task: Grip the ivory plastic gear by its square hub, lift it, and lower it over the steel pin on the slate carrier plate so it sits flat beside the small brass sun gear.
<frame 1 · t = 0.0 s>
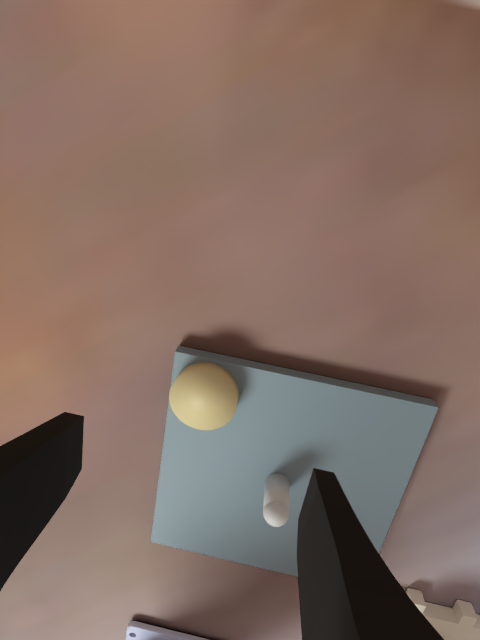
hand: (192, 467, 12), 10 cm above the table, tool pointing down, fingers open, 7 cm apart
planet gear: (417, 638, 28), on the table
carrier plate: (277, 473, 24), on the table
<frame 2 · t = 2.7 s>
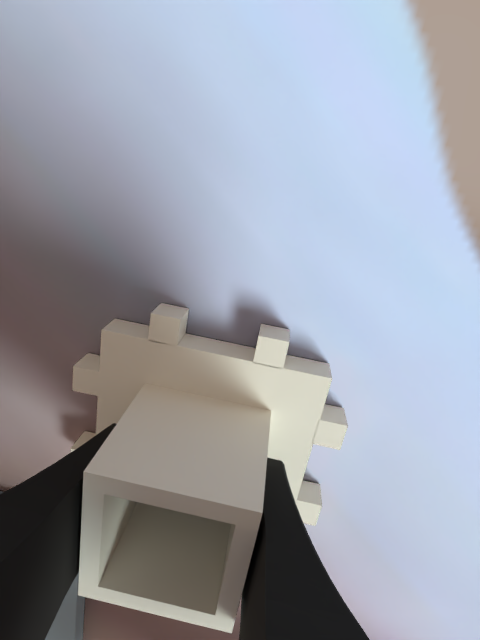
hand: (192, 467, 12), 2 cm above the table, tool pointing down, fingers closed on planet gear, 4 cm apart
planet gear: (205, 430, 14), on the table, touching gripper
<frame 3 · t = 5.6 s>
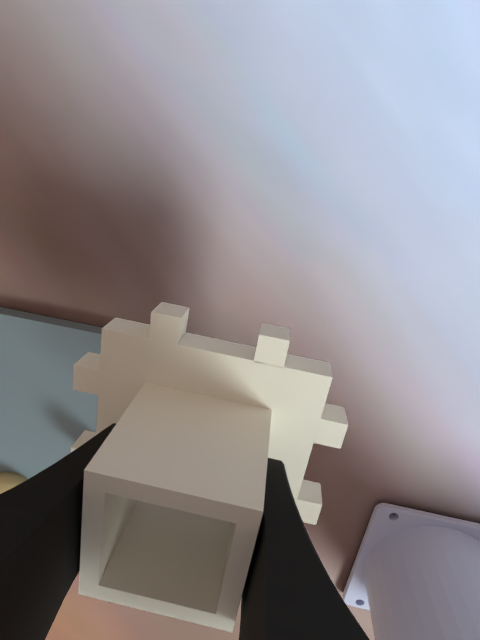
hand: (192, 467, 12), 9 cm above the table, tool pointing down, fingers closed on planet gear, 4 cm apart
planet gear: (205, 429, 14), point 7 cm above the table, touching gripper
carrier plate: (102, 438, 24), on the table
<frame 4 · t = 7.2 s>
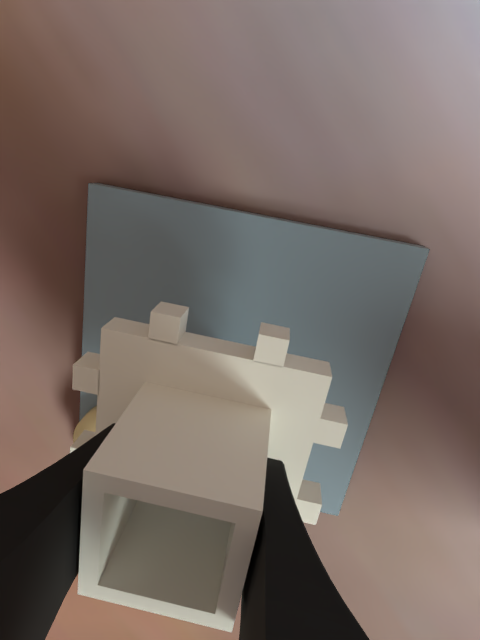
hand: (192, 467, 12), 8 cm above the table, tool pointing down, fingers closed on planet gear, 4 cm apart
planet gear: (205, 429, 14), point 6 cm above the table, touching gripper
carrier plate: (229, 360, 19), on the table
when the fingers open (3 cm above the table, at t = 8.6 s): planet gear stays where it is, resting on carrier plate.
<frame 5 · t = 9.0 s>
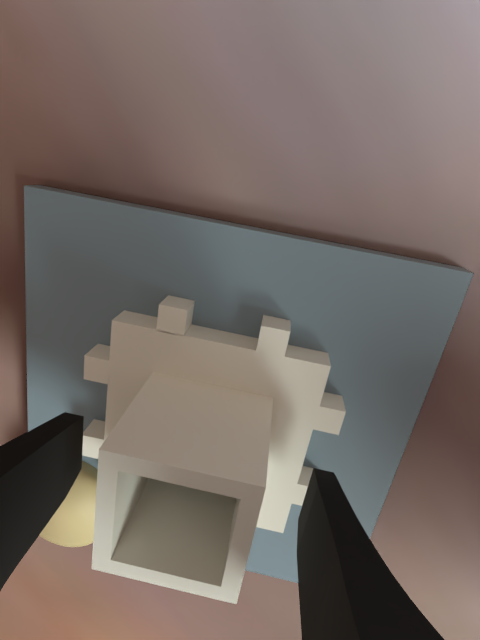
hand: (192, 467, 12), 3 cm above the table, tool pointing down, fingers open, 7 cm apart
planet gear: (209, 418, 15), point 1 cm above the table, touching carrier plate
carrier plate: (212, 407, 16), on the table
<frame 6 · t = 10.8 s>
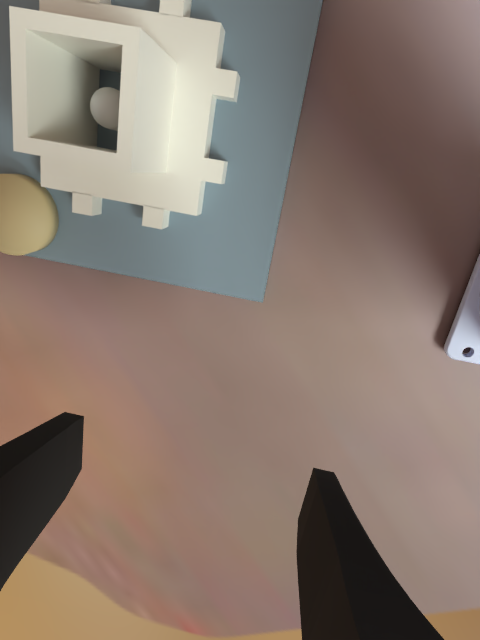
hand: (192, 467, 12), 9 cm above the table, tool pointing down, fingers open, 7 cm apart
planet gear: (132, 115, 17), point 1 cm above the table, touching carrier plate
carrier plate: (138, 118, 18), on the table
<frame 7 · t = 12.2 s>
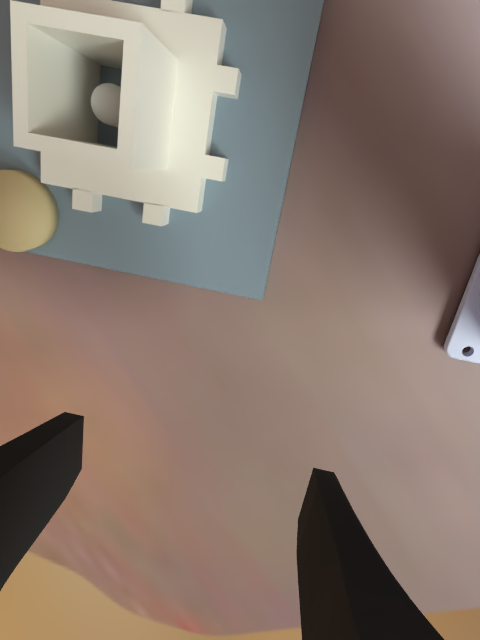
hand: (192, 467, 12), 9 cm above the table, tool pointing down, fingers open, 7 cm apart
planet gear: (132, 111, 17), point 1 cm above the table, touching carrier plate
carrier plate: (139, 115, 18), on the table
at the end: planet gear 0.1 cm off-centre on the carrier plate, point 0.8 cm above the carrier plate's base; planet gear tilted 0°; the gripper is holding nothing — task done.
